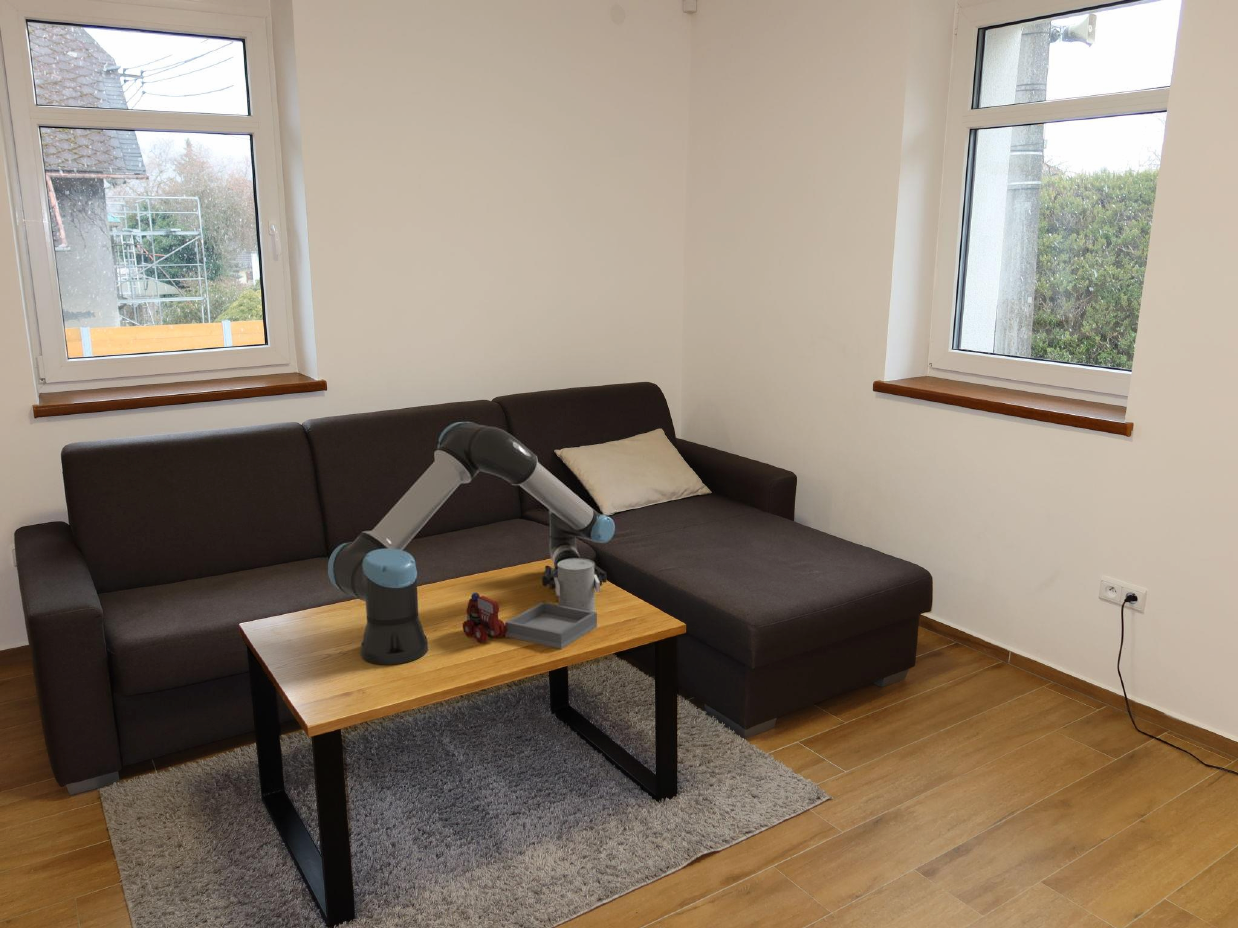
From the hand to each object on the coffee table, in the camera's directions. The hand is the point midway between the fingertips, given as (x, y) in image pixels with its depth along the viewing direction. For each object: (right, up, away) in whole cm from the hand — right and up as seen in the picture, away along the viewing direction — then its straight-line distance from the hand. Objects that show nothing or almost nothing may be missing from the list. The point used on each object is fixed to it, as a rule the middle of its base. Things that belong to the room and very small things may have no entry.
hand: (578, 588), depth 246 cm
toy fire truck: (-22, -10, -11) cm, 27 cm away
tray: (-6, -9, -9) cm, 14 cm away
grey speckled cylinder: (-1, -6, +6) cm, 8 cm away
